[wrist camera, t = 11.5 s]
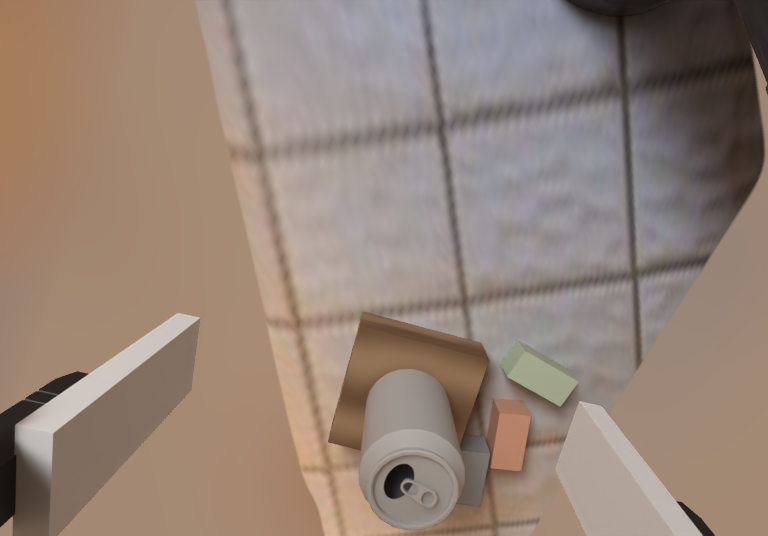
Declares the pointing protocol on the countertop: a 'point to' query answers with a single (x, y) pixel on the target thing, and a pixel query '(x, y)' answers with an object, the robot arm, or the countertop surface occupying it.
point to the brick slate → (474, 469)
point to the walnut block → (406, 351)
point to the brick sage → (538, 373)
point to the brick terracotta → (507, 434)
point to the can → (410, 451)
